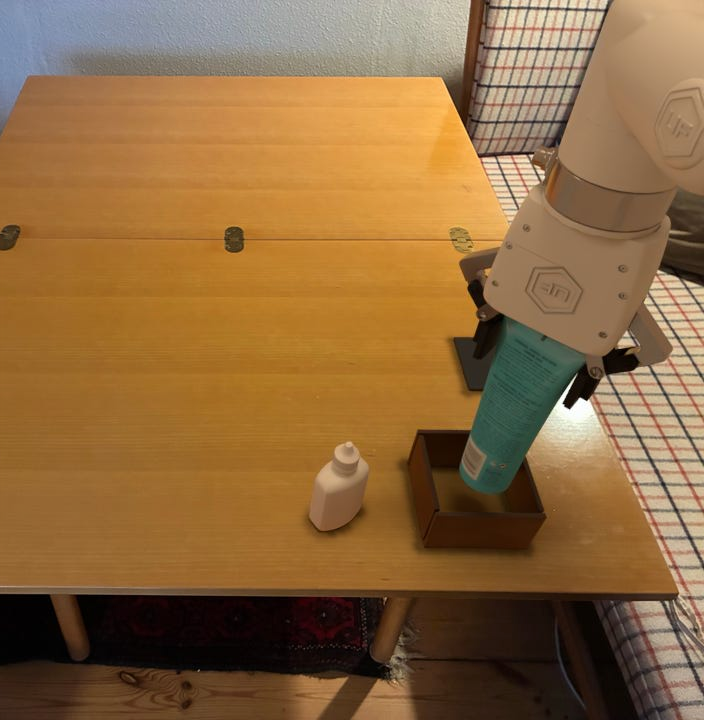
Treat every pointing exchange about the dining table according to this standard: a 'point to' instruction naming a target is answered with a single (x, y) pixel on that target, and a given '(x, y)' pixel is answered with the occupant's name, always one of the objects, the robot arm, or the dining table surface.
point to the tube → (515, 403)
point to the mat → (473, 363)
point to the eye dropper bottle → (339, 488)
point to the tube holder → (469, 525)
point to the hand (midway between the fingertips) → (527, 373)
